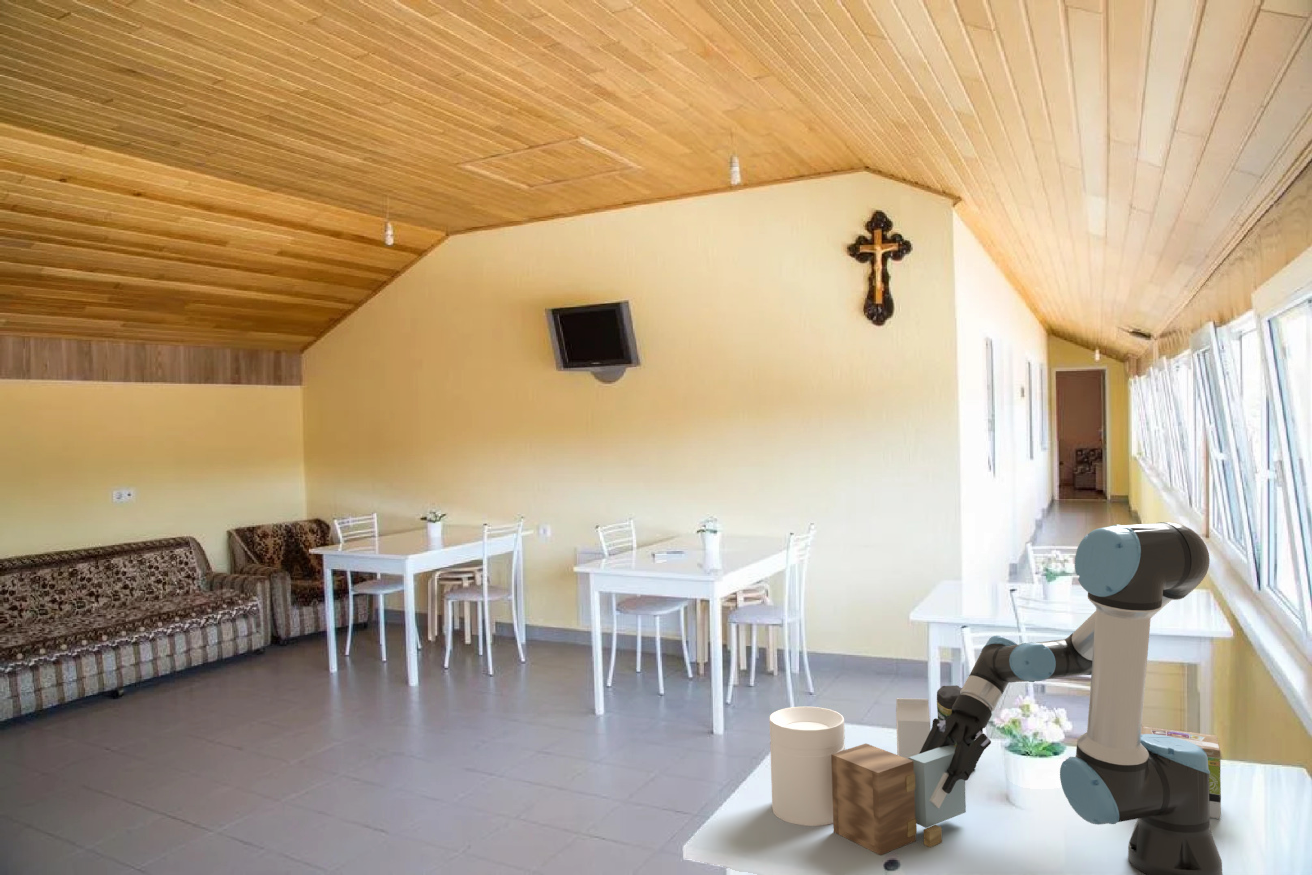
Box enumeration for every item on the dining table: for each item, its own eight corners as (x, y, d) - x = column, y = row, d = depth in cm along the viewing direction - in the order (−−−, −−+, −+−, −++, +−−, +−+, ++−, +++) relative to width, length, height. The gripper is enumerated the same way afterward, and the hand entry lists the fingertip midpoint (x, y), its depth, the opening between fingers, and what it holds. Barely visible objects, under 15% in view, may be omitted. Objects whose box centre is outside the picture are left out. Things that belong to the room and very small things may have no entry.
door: (965, 812, 190) (963, 749, 190) (926, 827, 184) (924, 763, 184) (950, 805, 194) (948, 744, 194) (910, 820, 187) (908, 757, 187)
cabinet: (941, 842, 183) (939, 761, 182) (894, 862, 175) (892, 778, 175) (879, 814, 196) (877, 739, 196) (833, 831, 189) (831, 754, 189)
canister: (789, 789, 211) (786, 702, 211) (857, 802, 203) (854, 712, 202) (760, 816, 197) (757, 723, 197) (831, 831, 189) (828, 734, 189)
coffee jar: (934, 758, 227) (932, 683, 227) (966, 757, 227) (964, 682, 227) (947, 773, 217) (944, 695, 217) (980, 772, 217) (978, 693, 217)
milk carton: (931, 787, 210) (929, 703, 209) (899, 785, 211) (897, 703, 211) (929, 775, 217) (926, 694, 216) (897, 773, 218) (895, 693, 218)
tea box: (1138, 808, 195) (1137, 738, 195) (1139, 790, 204) (1137, 724, 204) (1222, 820, 188) (1220, 748, 188) (1218, 801, 197) (1217, 732, 197)
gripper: (1019, 723, 190) (968, 824, 181) (951, 703, 204) (902, 796, 195) (1002, 702, 187) (950, 804, 178) (934, 684, 201) (883, 777, 192)
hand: (925, 800), depth 187 cm, fingers closed on door, 4 cm apart
